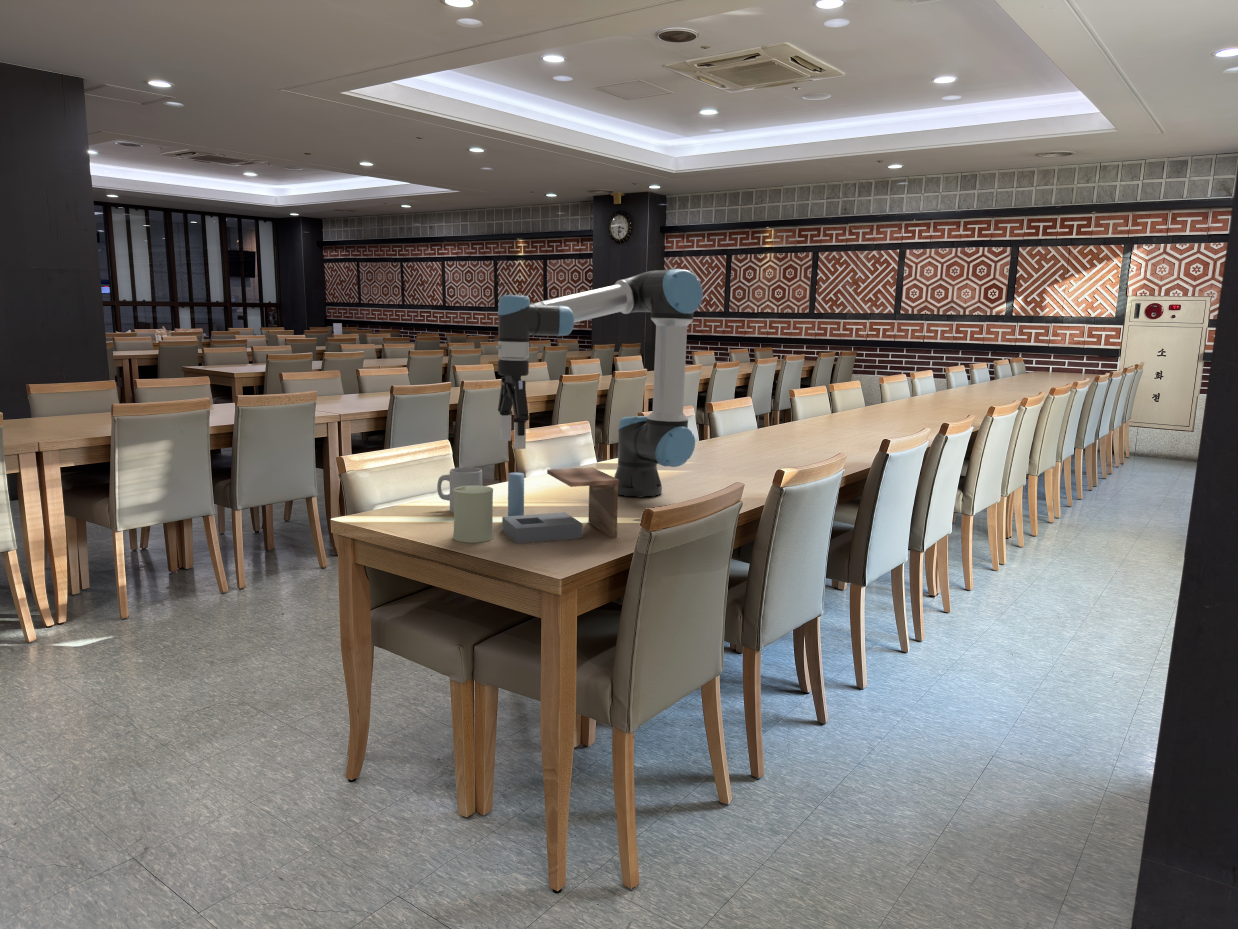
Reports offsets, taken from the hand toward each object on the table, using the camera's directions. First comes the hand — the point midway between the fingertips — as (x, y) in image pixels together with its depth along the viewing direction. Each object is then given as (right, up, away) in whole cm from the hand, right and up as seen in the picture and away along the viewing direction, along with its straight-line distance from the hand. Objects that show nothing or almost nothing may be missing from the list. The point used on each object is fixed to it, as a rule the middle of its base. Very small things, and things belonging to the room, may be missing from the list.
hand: (512, 444), depth 207 cm
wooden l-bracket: (+17, -21, -6) cm, 28 cm away
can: (-7, -22, -15) cm, 27 cm away
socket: (+8, -22, -10) cm, 25 cm away
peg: (+1, -19, +3) cm, 19 cm away
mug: (-15, -17, +12) cm, 26 cm away
